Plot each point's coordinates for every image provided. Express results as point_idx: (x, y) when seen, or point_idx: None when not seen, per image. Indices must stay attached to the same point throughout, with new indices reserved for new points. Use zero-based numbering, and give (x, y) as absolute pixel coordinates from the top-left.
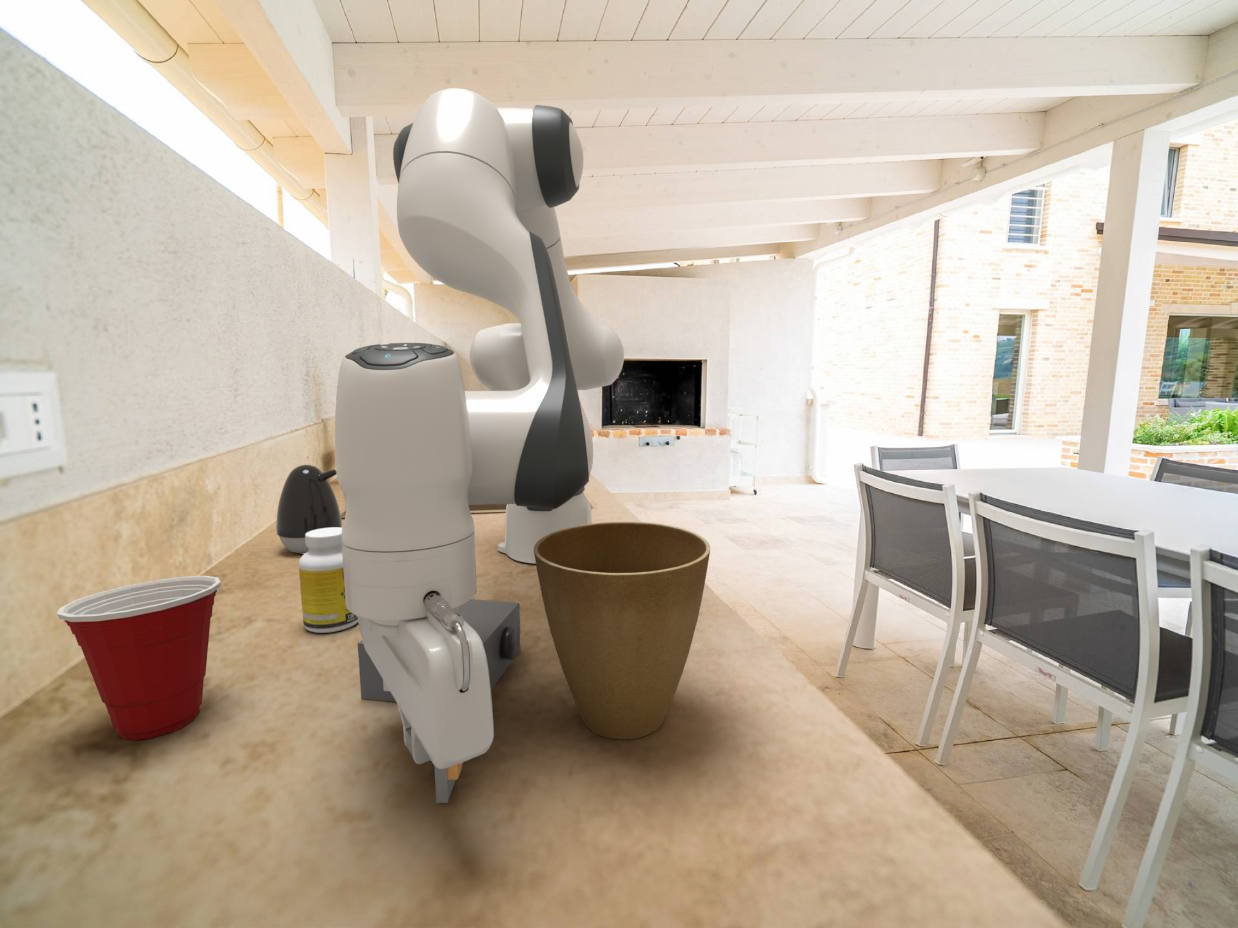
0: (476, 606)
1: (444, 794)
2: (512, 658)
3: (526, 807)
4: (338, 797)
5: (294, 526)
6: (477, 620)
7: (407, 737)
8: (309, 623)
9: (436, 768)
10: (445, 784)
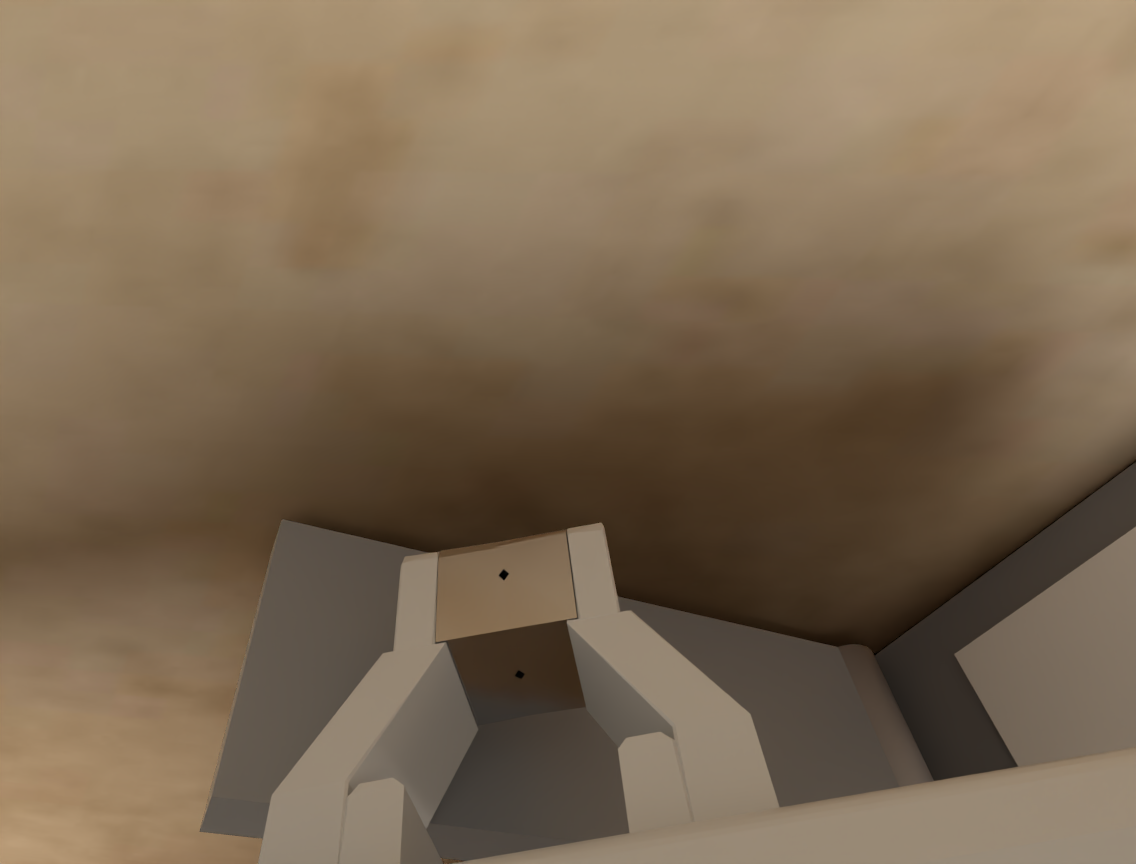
0: None
1: (266, 572)
2: None
3: (196, 723)
4: (537, 104)
5: None
6: None
7: (527, 598)
8: None
9: (246, 659)
10: (255, 614)
